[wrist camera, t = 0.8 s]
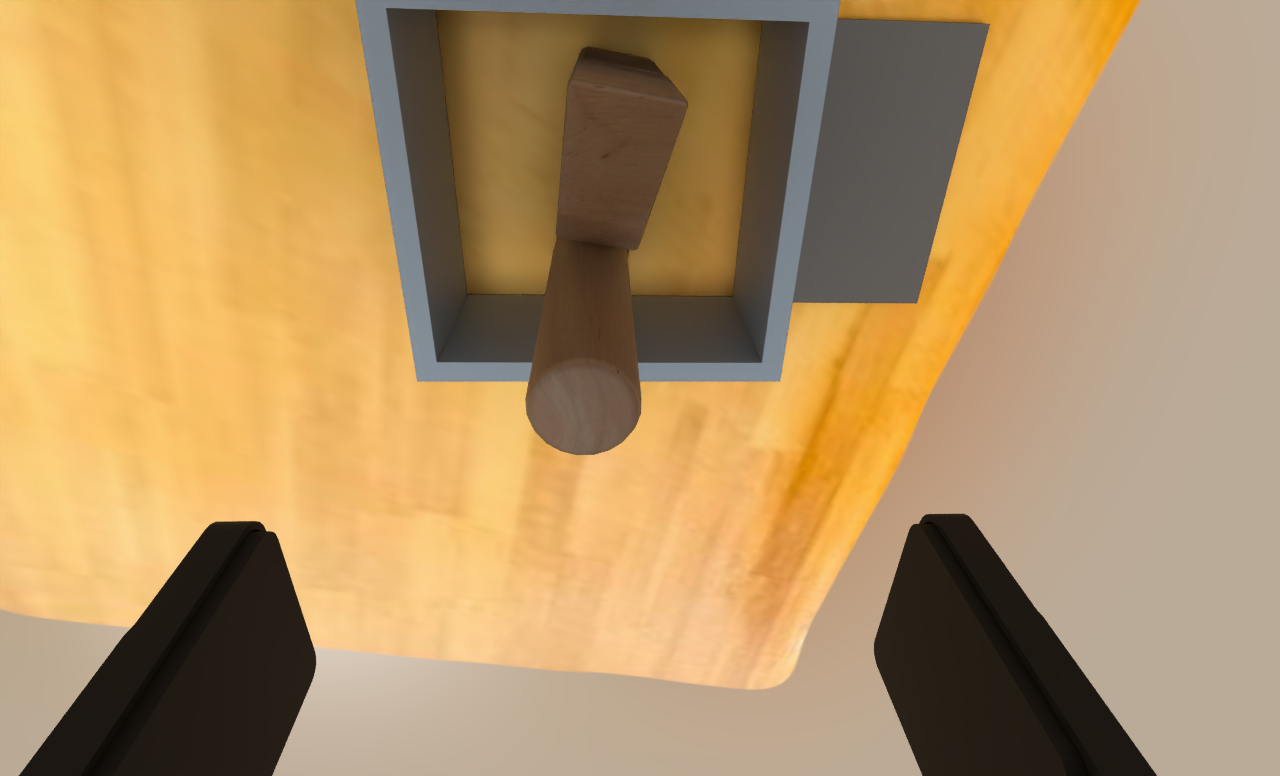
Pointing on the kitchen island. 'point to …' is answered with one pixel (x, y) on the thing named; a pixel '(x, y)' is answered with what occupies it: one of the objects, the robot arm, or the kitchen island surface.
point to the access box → (664, 325)
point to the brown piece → (600, 250)
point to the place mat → (885, 157)
